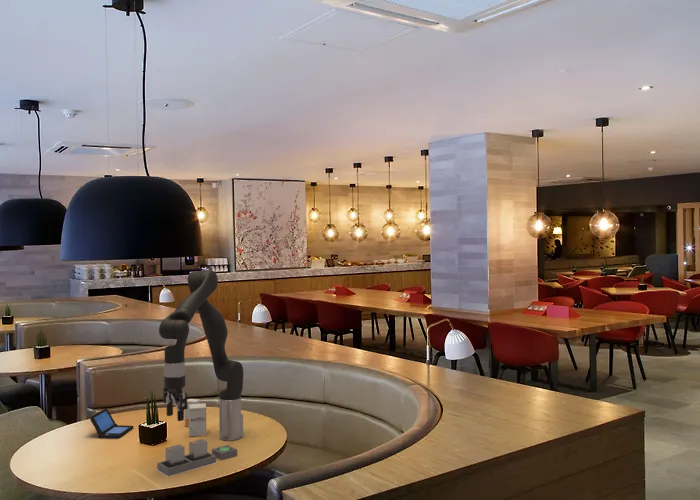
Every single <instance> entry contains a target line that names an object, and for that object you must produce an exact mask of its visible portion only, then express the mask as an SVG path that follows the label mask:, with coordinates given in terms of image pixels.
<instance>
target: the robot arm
mask: <svg viewBox="0 0 700 500" xmlns="http://www.w3.org/2000/svg"><path fill="white" fill-rule="evenodd" d="M218 284H219V278H218V275H217V272H215V270H212V269H205V270H197V271H192V272H190V273H189V274H188V275H187V285H188V289H189V292H190V294H188V295H187V296H185V297H184V298H183V299H182V300H180V303H179V304H178V305H177V307H176V308H175V310H173V312H171V313H170V314H169V315H167V316H166V317H165V318H163V320H162V321H161V323H160V324H159V327H158V332H159V336H160V337H161V338H163V339H164V340H176V342H175V344H171V345H168V346H166V347H165V348H164V364H163V365H164V366H163V383H164V384H163V392H162V393H163V394H162V395H163V396H162V402H163V404H165V406H166V417H170V416H171V417H172V416H174V415H173V414H174V406H176V409H177V413H176V416H177V418H176V419H177V421H178V422H182V421H185V409H187V399H188V393H187V392H183V388H184V387H186V363H185V348H186V344H187V340H188V336H189V332H190V326H189V324H190V322H191V321H192V319H193V318H194V316H195V314H196V313H197V311H198V315H199V318H200V321H201V324H202V327H203V328H202V329H203V331H204V334H205V338H206V340H207V344H208V348H209V351H210V355H211V359H212V364H213V369H214V370H213V371H214V374H215V376H216V378H217V379H218V380H219V381H222V382H225V383H226V388H224V389H222V390H220V391H219V394H218V395H219V396H218V397H219V399H218V400H219V401H218V402H219V403H218V405H219V409H218V410H219V412H218V414H219V420H218V421H219V439H220V440H222V441H229V442H230V441H235V440H239V439H241V438H243V437H244V414H243V413H242V393H243V388H244V367H243V363H241V362H239V361H237V360H230V359H229V357H228V356H227V353H226V352H227V351H226V347H225V346H226V342H227V338H228V327H227V324H226V321H225V318H224V316H223V314H222V313H221V312H220V311H219V310H218V309H217V308H216V307H215V306H213V305H212V303H210V301H209V300H208V298H209V297H210V296H211V295H212V294H213V293H214V291H216V289H217V288H218Z"/></svg>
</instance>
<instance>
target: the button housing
mask: <svg viewBox="0 0 700 500" xmlns="http://www.w3.org/2000/svg"><path fill="white" fill-rule="evenodd" d="M221 447H229V448H230V450H228V451H225V452H221V451H219V449H220V448H221ZM211 454H213V455H215V456H216V459H218V460H220V461H224V460H228V459H230V458H235V457H237V456H238V449H237V448H235V447H233V446H230V445H228V444H226V445H222V446H218V447H214V448H211Z"/></svg>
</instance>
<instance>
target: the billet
mask: <svg viewBox="0 0 700 500" xmlns="http://www.w3.org/2000/svg"><path fill="white" fill-rule="evenodd" d="M185 453H186V449H185V446H183V445H181V444H176V445H172V446H168V447H165V461H166V467H168V468H171V467H175V466H178V465H182V464H185V455H186V454H185Z"/></svg>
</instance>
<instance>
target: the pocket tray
mask: <svg viewBox="0 0 700 500" xmlns="http://www.w3.org/2000/svg"><path fill="white" fill-rule="evenodd" d="M156 463H157V464H156V469H155V471H157V472H158V473H160V474H161V475H163V476H164V477H166V478H169V477H172V476H176V475H179V474H183V473H187V472H190V471H194V470H197V469H201V468H204V467H208V466H211V465H215V464H218V463H219V462H218V461H217V458H216V456H215V455H213V454H212V452H210V451H207V458H204V459H200V460H197V461H193V462H192V461H191V460H189V454H185V464H182V465H178V466H175V467H171V468H168V467H166V460H162V461H158V462H156Z"/></svg>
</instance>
